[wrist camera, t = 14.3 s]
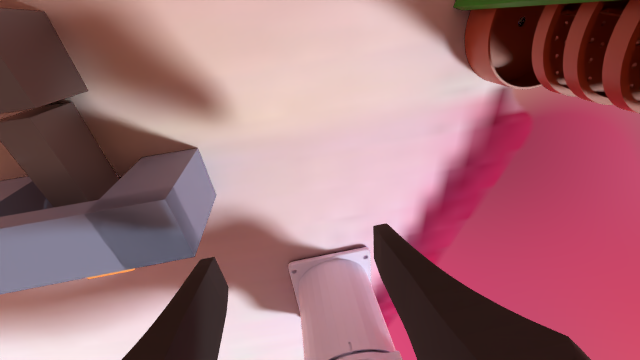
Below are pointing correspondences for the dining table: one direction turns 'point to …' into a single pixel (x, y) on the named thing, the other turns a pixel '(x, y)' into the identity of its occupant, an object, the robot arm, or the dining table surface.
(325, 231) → the dining table surface
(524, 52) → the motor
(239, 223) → the dining table surface
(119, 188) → the housing
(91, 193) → the plug
